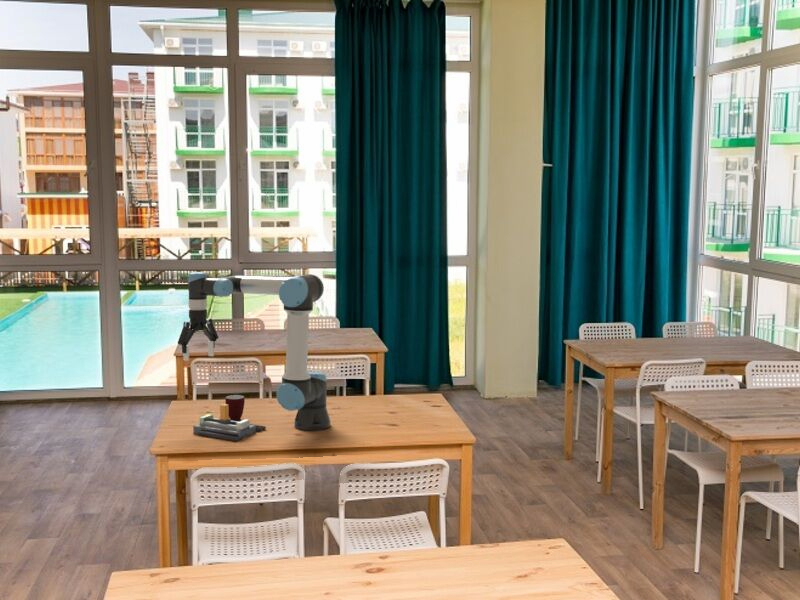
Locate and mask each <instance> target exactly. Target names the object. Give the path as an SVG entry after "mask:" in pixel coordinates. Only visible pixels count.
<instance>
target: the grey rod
mask: <svg viewBox="0 0 800 600" xmlns="http://www.w3.org/2000/svg"><path fill="white" fill-rule="evenodd" d="M262 431H263V430H262V428H261V427H257V426H256V432H262Z"/></svg>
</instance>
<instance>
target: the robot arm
mask: <svg viewBox="0 0 800 600" xmlns="http://www.w3.org/2000/svg"><path fill="white" fill-rule="evenodd" d="M187 277H188V279H187V281H188V282H187V287H188V308H189V310H188V318H189V321H183V327H182V329H181V332H180V335H179V338H178V341H177V344H178V345H180V346H181V353H182V355H183V357H182V359H183V362H184V361H185V362H190V349H189V348H190V346H189V345H188V344H189V342H190V341H191V339H192V337H193V336H194V334H195V333H196V332H199V331H202V332H203V333H204V335H205V336H206V337H207V338H208V339H209V340H208V341H207V349H208V350H207V354H208V355H207V356H208V357H215V356H214V355H215V354H214V353H215V352H214V351H215V347H216V345H215V344H216V342H217V340H218V339H219V335H218V333H217V331H216V328H215V326H214V323H213V322H214V321H213V319H212V318H208V310H207V308H208V299H207V296H210V297H219V298H223V297H225V298H226V297H230V296H231V295H233V294H248V295H249V294H251V295H271V296H275V295H276V296H278V297H279V300H280V301H281V304H282V305H283V310H284V312H286V316H287V317H286V318H287V319H286V320H287V321H286V350H285V351H286V353H285V354H286V357H285V358H286V359H285V372H284V373H283V374H282V375H281V384H280V385H279V386H278V388H277V390H276V400H277V403H278V404H279V405H280V406H281V407H282V408H283V409H285V410H286V411H291V412H292V411H293V412H294V411H297V413H296V414H295V418H294V422H293V423H294V425H293V426H294V428H295V429H298V430H302V431H321V430H325V429H329V428H330V427H331V418H330V415H329V412H328V408H327V383H328V381H327V375H326V373H324V372H318V371H308V357H309V356H308V355H309V353H308V351H309V323H310V319H309V317H310V314H311V313H312V312H313V311H314V310H313V309H314V303H315V302H317V301H319V300H320V299H321V298H322V296H323V294H324V290H325V289H324V288H325V287H324V283H323V281H322V280H321V278H320V277H319V276H317V275H315V274H311V273H310V274H303V275H302V274H300V275H297V274H296V275H293V276H291V277H286V276H285V277H283V276H282V277H281V276H280V277H279V276H252V275H251V276H250V275H242V274H235V275H231V276H223V277H207V273H206V272H202V271H200V272H199V271H193V272H190V273H188V276H187Z"/></svg>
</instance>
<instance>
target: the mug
mask: <svg viewBox="0 0 800 600" xmlns="http://www.w3.org/2000/svg"><path fill="white" fill-rule="evenodd" d="M224 399H225V401H224V402H225V403H224V404H229V419H231V421H237V422H239V421H241V418H242V416H243V414H244V409H245V395H241V394H233V395H232V394H231V395H227V396H225V398H224Z"/></svg>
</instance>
